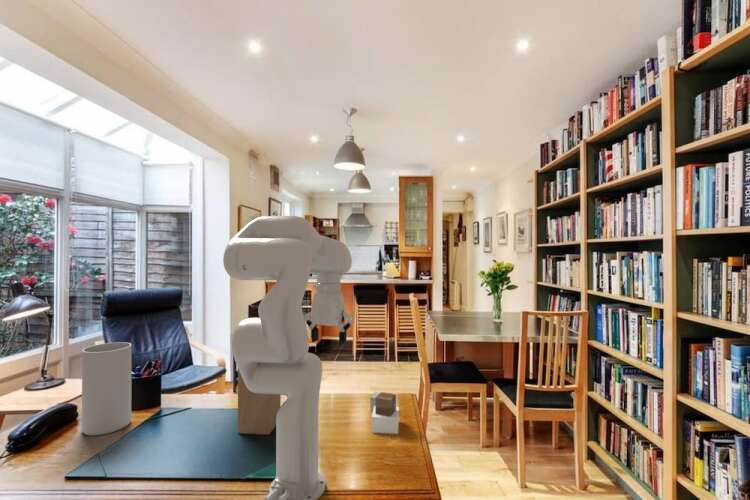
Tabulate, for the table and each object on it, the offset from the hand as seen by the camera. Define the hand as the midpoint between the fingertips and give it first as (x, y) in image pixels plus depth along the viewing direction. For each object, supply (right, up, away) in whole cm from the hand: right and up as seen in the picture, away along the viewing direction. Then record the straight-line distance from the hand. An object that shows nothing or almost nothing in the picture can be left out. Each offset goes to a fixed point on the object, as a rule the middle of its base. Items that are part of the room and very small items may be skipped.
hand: (328, 342), depth 115 cm
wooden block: (-22, -27, -1) cm, 34 cm away
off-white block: (+18, -27, -1) cm, 32 cm away
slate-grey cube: (+16, -27, +12) cm, 33 cm away
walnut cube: (+18, -22, -1) cm, 28 cm away
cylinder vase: (-70, -27, 0) cm, 75 cm away
